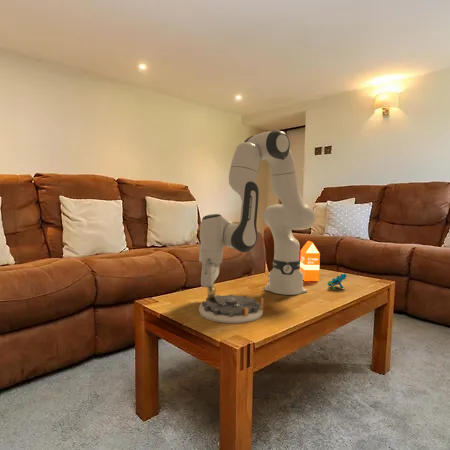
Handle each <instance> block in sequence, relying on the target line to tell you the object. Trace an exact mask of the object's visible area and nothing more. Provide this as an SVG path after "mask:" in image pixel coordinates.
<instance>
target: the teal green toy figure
mask: <svg viewBox="0 0 450 450" xmlns="http://www.w3.org/2000/svg"><path fill="white" fill-rule="evenodd" d="M347 277H348V275H347V273H342V274H340V275H337V276H336V278H335V277H333V278H331V279H332V280H329V281H327V286H328V287H329V286H331V287H330V288H332V289H333V290H334V289H336V287H335V286H340V289H342V288H344V286H343V285H342V282H343V280H346V278H347ZM344 289H345V288H344Z"/></svg>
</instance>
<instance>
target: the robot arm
mask: <svg viewBox="0 0 450 450" xmlns="http://www.w3.org/2000/svg"><path fill="white" fill-rule="evenodd" d="M290 143H291V142H290V139H289V136H288V135H287V134H286V132H285V131H282V130H272V131H265V132H260V133H259V134H255V135H250V136H248V138H246V139H245V140H244V141H243V142H241V143H239V144H238V145H237V147H236V149H235V151H234V152H233V153H234V154H233V157H232V161H231V163H230V168H229V174H228V185H229V186H230V188H231V189H232V190H233V191H234V192H236V194H238V195H239V196H240V197H239V198H240V200H241V208H240V218H239V222H238V223H236V222H233V221H230V220H227V219H226V218H224V217H223V216H222V215H221V214H220V213H218V214H217V213H213V214H207V215H205V216H203V217H202V218H201V220H200V227H199V240H200V245H199V249H198V250H199V257H198V259H199V260H198V261H199V263H202V266H201V273H200V274H201V275H200V286H201V287H203V288H207V289H208V287H214V286H215V285H214V284H215V281H216V280H217V278H218V276H219V274H220V270H221V269H220V268H221V263H222V262H223V257H224V256H223V252H224V247H227V248H230V249H234V250H236V251H239V252H241V253H247V252H250V251H252V250H253V249H254V247H255V246H256V244H257V242H258V229H257V228H258V227H257V222H258V221H257V220H258V210H259V209H258V208H259V198H260V197H259V195H260V194H259V193H260V192H259V187H258V183H257V182H258V172H259V168H260V167H259V166H260V163H261V161H267V163H268V164H269V176H270V183H271V191H272V194H273V195H274V196H275V197H277V198H278V199H279V201H280V203H276V204H271V205H268V206H267V207H266V208H265V209H264V211H263V220H264V221H263V222H264V223H265V224H266V225H267V226H268V228H269V230H270V232H271V234H272V238H273V244H274V245H273V246H274V248H273V249H274V250H273V251H274V252H273V253H274V257H273V259H272V267H273V268H272V269H271V270H270V271H269V273H268V276H267V278H268V279H267V280H268V282H267V284H265V286H264V290H265V291H267V292H271V293H273V294H277V295H278V294H279V295H287V296H289V295H290V296H291V295H292V296H294V295H300V294H302V293H303V294H304V293H307V292H308V289H307V288H306V287H304V281H303V273H302V272H301V271H300V252H301V249H300V247H301V246H300V242H299V240H298V239H297V238H295V236H294V235H293V232H292V230H295V231H303V230H308V229H310V228H312V227H313V225H314V223H315V221H316V214H315V212H314V211H315V210H314V209H313V208H312V207H311V206H310V205H309V204H307V203H306V201H305V199H304V198H303V197H302V194H301V192H300V188H299V185H298V178H297V168H296V162H295V159H294V156H293V152H292V150H291V148H290V147H291V146H290V145H291V144H290Z"/></svg>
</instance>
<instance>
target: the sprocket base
mask: <svg viewBox="0 0 450 450" xmlns="http://www.w3.org/2000/svg"><path fill="white" fill-rule="evenodd" d="M264 299H265V298H264V297H261V298H260V308H258V312H257V313H255V312H251V313H248V315H247V316H244V315H233V317H229V315H222V314H219V315H214V312H211V311H205V310H204V307H202V303H200V305H199V307H198V313H199V315H200V316H201V317H202V318H204V319H206V320H209V321H213V322H217V323H223V324H242V323H243V324H245V323H251V322H254V321H257V320H259V319H260V318H262V317H263V315H264V313H263V312H264Z"/></svg>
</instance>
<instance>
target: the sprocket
mask: <svg viewBox="0 0 450 450" xmlns="http://www.w3.org/2000/svg"><path fill="white" fill-rule="evenodd" d="M205 299H206V300H204V301H203V300H202V302H201V304H202V307H204V310H205V311H211V312H214V315H219V314H222V315H229V317H233V315H244V316H247V315H248V313H251V312H255V313H257V312H258V308H260V305H261V302H257V299H256V298H249V297H247V296H246V295H234V294H228V295H220V294H216V287H214V286H213V287H208V288H207V297H206V298H205Z"/></svg>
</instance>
